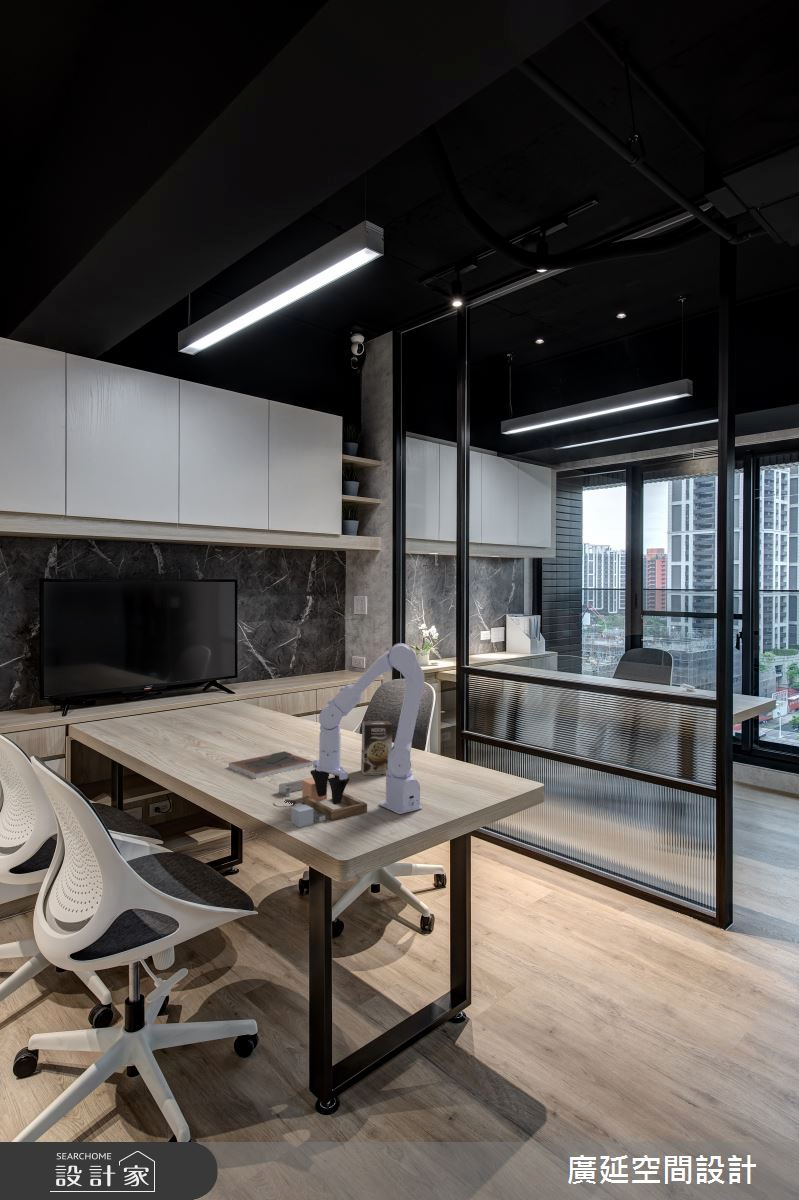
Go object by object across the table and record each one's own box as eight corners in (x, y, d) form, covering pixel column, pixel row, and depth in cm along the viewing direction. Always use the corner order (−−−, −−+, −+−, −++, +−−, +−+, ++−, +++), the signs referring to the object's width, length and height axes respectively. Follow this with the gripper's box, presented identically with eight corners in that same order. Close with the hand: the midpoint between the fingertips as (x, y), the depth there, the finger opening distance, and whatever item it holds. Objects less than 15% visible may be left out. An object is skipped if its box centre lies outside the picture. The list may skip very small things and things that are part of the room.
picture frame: (284, 758, 228) (228, 769, 213) (284, 751, 228) (228, 762, 213) (312, 768, 216) (256, 781, 201) (313, 760, 216) (256, 773, 201)
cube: (326, 799, 183) (327, 781, 183) (311, 802, 180) (311, 784, 180) (317, 794, 187) (317, 777, 187) (302, 797, 184) (302, 780, 184)
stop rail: (323, 789, 192) (323, 781, 192) (286, 796, 184) (286, 788, 184) (315, 785, 195) (315, 777, 195) (278, 792, 188) (279, 784, 188)
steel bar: (325, 822, 166) (325, 815, 166) (319, 824, 165) (319, 817, 165) (299, 809, 175) (300, 803, 175) (294, 811, 174) (294, 804, 174)
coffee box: (363, 775, 206) (364, 724, 205) (360, 770, 212) (361, 720, 212) (392, 774, 208) (392, 724, 207) (388, 769, 214) (389, 719, 214)
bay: (367, 811, 173) (367, 803, 173) (331, 820, 166) (331, 811, 166) (337, 797, 184) (337, 789, 184) (303, 804, 178) (303, 796, 178)
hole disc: (299, 804, 178) (299, 803, 178) (279, 808, 174) (279, 808, 174) (289, 798, 183) (289, 797, 183) (269, 802, 179) (269, 802, 179)
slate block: (313, 824, 164) (313, 808, 163) (299, 827, 161) (299, 811, 161) (305, 819, 167) (305, 804, 167) (291, 823, 164) (291, 807, 164)
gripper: (303, 746, 180) (302, 795, 181) (331, 757, 169) (330, 809, 169) (325, 742, 185) (324, 790, 185) (354, 753, 173) (353, 804, 174)
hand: (329, 799), depth 177 cm, fingers open, 7 cm apart
